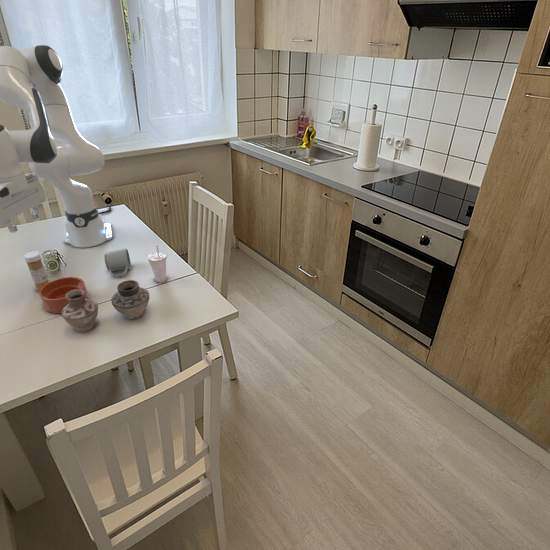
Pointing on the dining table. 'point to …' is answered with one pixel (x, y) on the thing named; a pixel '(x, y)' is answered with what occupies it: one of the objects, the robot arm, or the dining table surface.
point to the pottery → (124, 301)
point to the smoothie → (158, 265)
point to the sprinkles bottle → (36, 269)
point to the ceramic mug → (117, 261)
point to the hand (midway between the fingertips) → (25, 224)
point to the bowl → (60, 293)
